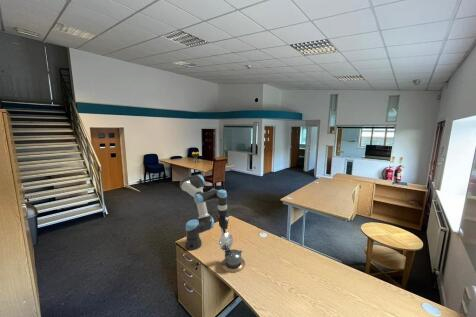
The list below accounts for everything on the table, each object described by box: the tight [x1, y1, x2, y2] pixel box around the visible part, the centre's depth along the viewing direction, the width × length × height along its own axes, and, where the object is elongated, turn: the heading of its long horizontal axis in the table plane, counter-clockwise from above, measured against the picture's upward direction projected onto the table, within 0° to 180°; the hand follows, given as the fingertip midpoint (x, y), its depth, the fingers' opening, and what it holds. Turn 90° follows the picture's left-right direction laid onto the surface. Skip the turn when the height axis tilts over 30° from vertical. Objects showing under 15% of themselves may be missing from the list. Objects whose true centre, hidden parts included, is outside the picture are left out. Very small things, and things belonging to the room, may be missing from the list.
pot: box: [220, 248, 246, 274], centre depth 167 cm, size 19×19×9 cm
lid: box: [218, 232, 234, 253], centre depth 172 cm, size 14×14×2 cm
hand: (223, 235), depth 173 cm, fingers closed
